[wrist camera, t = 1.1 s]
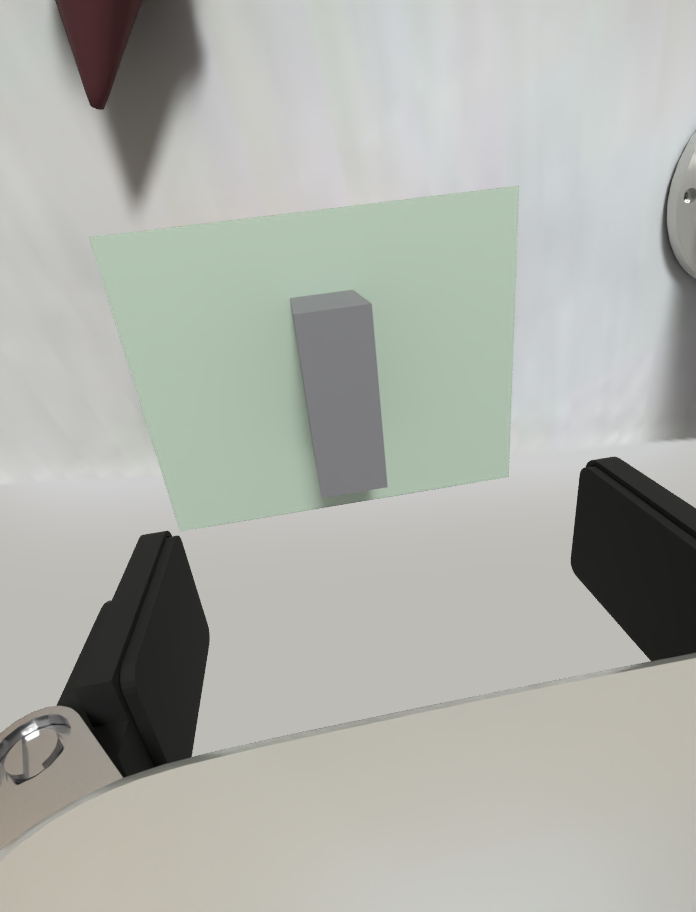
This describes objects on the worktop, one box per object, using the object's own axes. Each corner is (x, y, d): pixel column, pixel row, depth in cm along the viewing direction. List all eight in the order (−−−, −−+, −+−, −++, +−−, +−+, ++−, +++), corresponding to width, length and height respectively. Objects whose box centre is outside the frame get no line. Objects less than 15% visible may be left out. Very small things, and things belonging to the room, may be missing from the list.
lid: (500, 189, 24) (581, 174, 18) (494, 462, 30) (552, 523, 24) (103, 236, 22) (37, 239, 16) (185, 512, 29) (160, 591, 23)
